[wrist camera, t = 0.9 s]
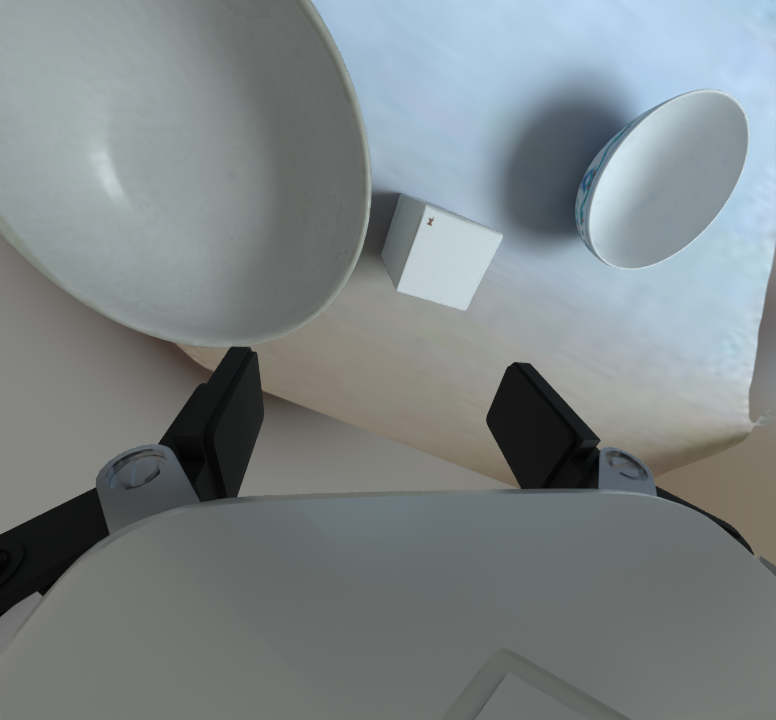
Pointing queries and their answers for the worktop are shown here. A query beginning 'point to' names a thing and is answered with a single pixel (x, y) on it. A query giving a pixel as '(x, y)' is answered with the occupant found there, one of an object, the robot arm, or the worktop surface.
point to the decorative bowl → (183, 161)
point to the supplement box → (437, 252)
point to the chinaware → (663, 179)
